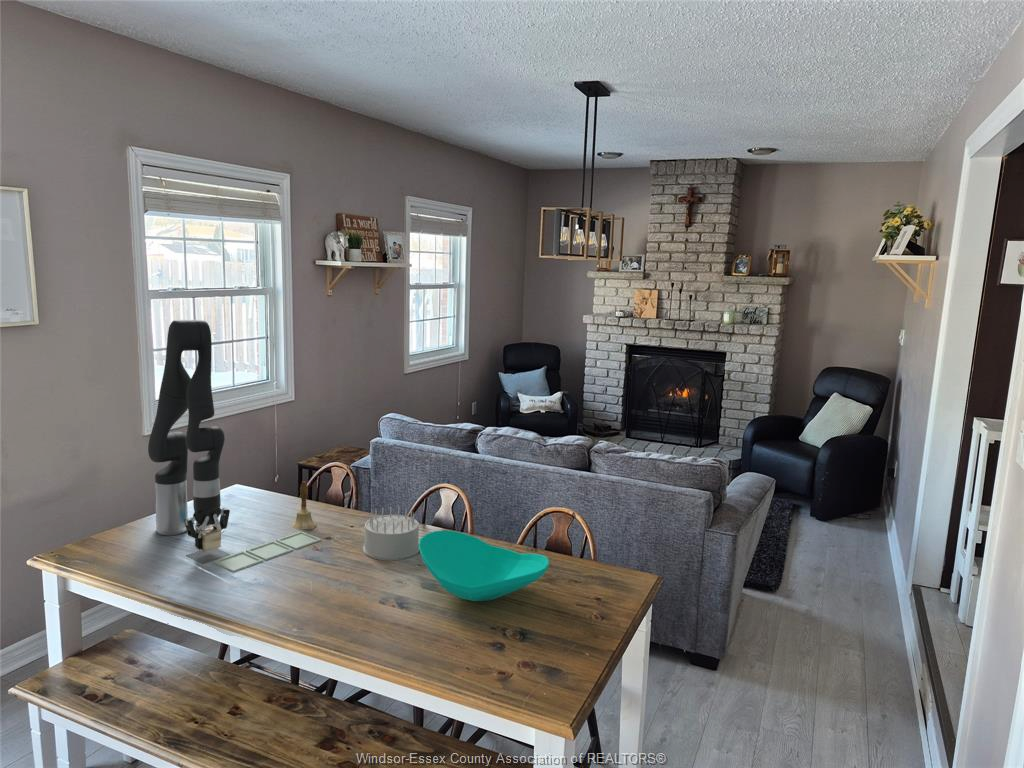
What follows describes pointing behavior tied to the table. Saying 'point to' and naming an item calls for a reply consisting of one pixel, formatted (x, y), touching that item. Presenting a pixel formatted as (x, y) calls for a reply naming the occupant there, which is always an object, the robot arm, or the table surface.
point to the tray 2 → (269, 550)
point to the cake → (391, 536)
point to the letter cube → (211, 539)
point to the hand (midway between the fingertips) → (208, 545)
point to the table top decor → (478, 566)
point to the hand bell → (304, 512)
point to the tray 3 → (298, 540)
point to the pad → (207, 555)
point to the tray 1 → (238, 561)
